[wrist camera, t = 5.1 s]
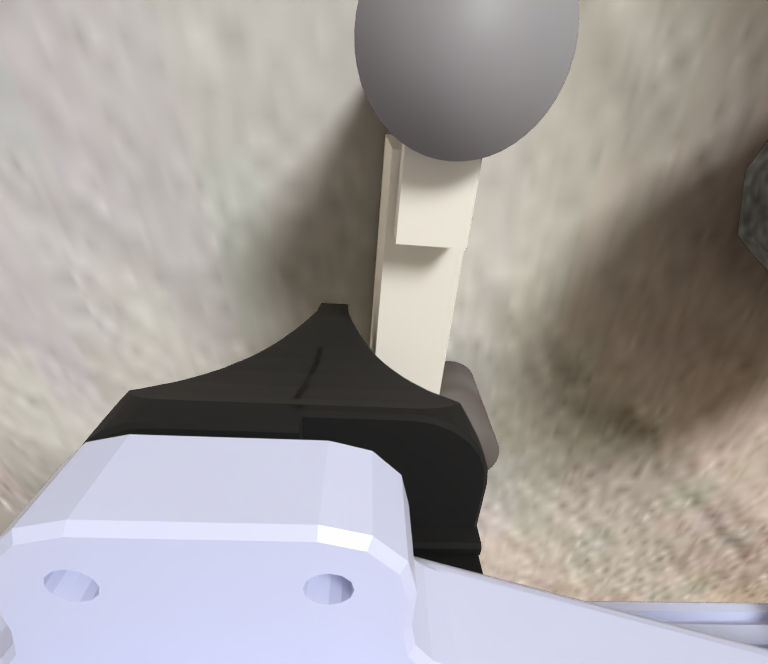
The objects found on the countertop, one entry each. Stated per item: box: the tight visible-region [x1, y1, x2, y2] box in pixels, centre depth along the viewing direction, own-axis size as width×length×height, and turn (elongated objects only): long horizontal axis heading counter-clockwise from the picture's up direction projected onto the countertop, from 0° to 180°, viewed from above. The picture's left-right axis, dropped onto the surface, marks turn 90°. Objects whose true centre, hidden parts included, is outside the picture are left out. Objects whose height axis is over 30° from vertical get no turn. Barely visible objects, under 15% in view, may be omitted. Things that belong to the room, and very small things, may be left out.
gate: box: [354, 0, 579, 395], centre depth 10 cm, size 12×3×6 cm, turn 175°
